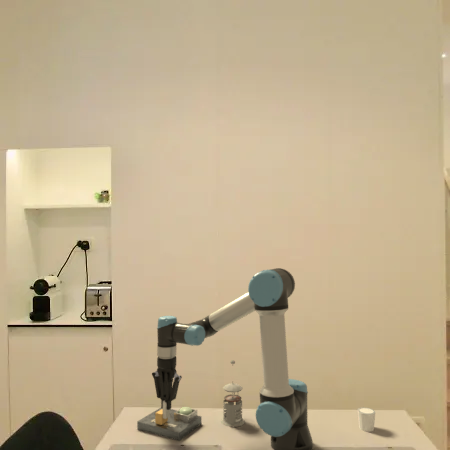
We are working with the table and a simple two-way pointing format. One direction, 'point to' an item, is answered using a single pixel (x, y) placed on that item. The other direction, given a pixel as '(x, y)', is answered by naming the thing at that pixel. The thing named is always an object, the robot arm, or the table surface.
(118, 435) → the table surface
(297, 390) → the robot arm
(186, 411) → the push button
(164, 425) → the panel
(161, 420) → the yellow cube
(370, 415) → the white cylinder
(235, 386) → the french press
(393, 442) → the table surface
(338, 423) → the table surface
